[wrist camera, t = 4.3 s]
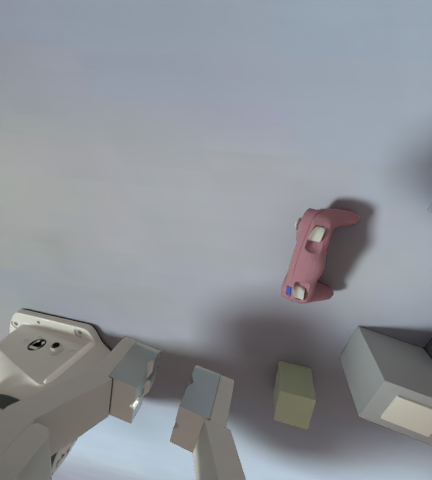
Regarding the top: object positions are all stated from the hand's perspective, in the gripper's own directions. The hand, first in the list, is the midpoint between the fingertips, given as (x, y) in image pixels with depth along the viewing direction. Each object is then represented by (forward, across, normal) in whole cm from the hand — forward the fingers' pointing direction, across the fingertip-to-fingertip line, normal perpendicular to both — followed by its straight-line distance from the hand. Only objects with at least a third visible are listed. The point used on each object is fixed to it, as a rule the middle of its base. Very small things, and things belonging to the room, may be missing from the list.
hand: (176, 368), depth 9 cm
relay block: (+19, +12, -18) cm, 29 cm away
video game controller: (+19, +8, 0) cm, 21 cm away
